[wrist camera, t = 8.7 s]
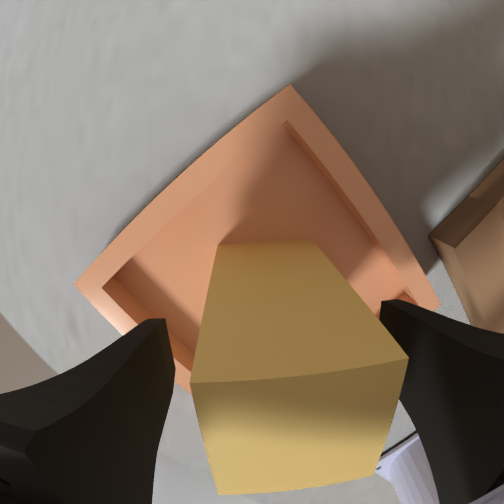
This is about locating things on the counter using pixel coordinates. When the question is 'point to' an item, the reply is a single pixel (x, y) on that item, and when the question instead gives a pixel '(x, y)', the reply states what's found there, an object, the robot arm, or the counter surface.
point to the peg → (290, 371)
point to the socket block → (477, 251)
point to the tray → (252, 226)
